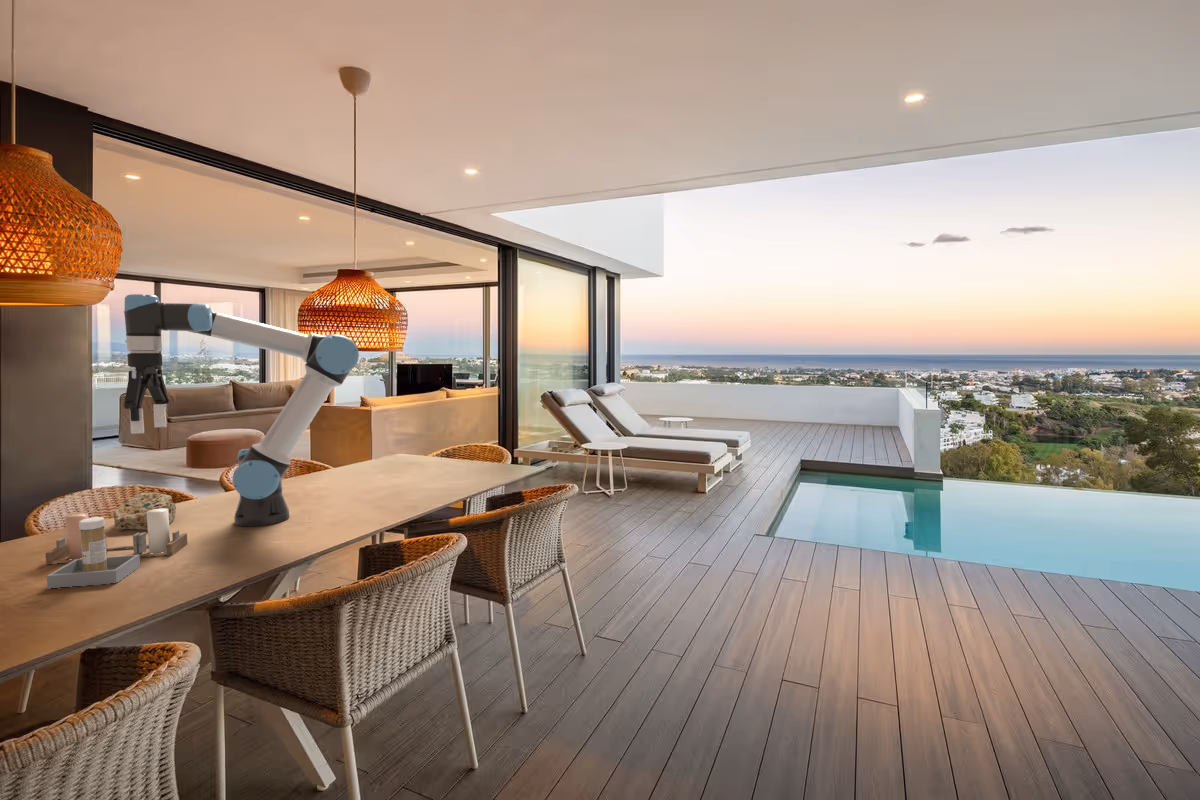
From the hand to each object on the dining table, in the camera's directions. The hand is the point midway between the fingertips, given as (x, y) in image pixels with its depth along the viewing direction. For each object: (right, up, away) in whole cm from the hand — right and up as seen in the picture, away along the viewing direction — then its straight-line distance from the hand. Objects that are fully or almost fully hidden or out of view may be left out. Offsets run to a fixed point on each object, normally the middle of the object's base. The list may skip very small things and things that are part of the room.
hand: (149, 430), depth 165 cm
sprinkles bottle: (+5, -33, -23) cm, 41 cm away
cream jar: (+6, -32, -4) cm, 33 cm away
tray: (+5, -34, -23) cm, 41 cm away
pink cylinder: (-12, -32, -9) cm, 36 cm away
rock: (-18, -30, +22) cm, 41 cm away
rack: (-3, -32, -6) cm, 33 cm away
